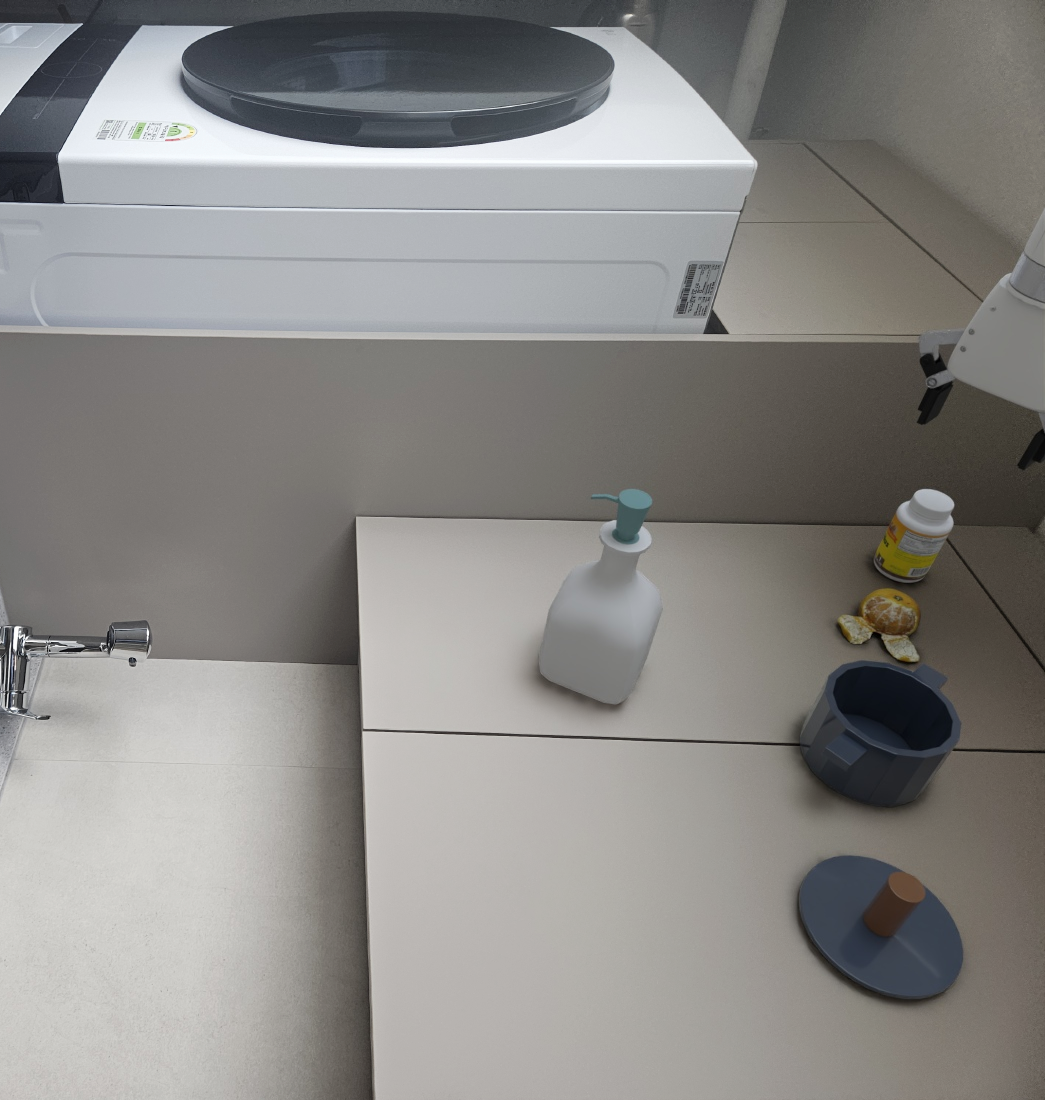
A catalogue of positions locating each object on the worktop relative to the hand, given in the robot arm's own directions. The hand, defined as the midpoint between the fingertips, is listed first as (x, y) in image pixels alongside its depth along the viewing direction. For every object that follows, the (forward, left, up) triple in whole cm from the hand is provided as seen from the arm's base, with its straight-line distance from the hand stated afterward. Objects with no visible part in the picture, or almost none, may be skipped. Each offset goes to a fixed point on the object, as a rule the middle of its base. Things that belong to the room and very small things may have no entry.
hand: (975, 441), depth 94 cm
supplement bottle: (+2, -3, -20) cm, 21 cm away
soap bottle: (+13, +37, -20) cm, 44 cm away
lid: (-20, +40, -20) cm, 49 cm away
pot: (-10, +25, -20) cm, 34 cm away
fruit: (-2, +8, -20) cm, 22 cm away
